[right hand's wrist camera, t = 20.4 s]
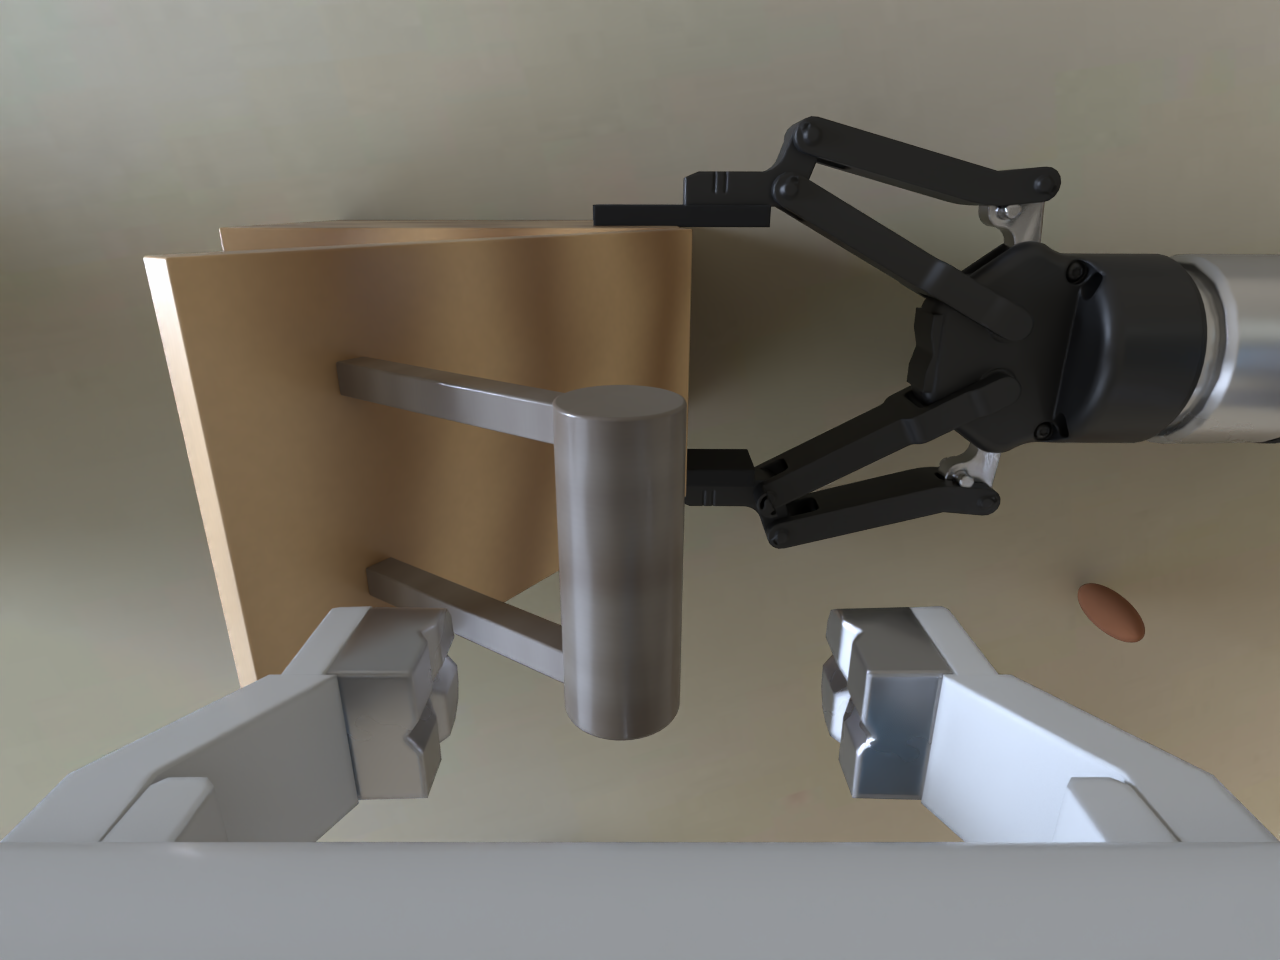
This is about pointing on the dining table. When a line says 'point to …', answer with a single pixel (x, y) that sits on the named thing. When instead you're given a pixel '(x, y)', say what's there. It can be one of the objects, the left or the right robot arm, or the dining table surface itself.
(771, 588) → the dining table surface
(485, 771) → the dining table surface
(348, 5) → the dining table surface
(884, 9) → the dining table surface
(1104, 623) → the egg
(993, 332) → the left robot arm
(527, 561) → the lid
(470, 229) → the chest
